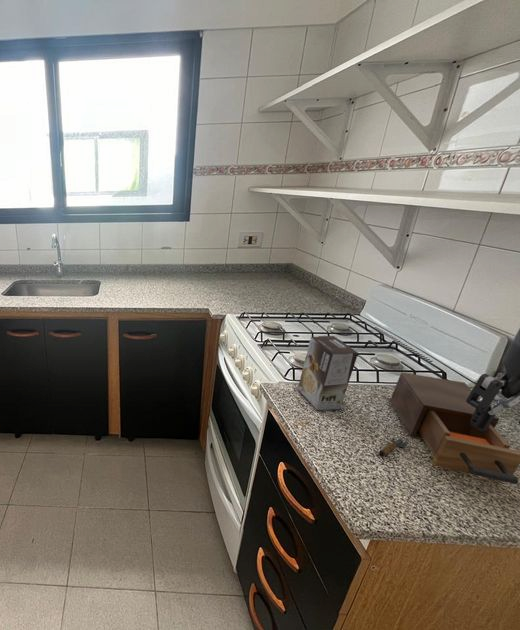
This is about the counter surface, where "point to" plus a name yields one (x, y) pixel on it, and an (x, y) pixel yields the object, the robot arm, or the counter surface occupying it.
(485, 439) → the orange block
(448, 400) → the cabinet
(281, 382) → the counter surface
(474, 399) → the robot arm
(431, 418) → the drawer
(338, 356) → the coffee box
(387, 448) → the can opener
